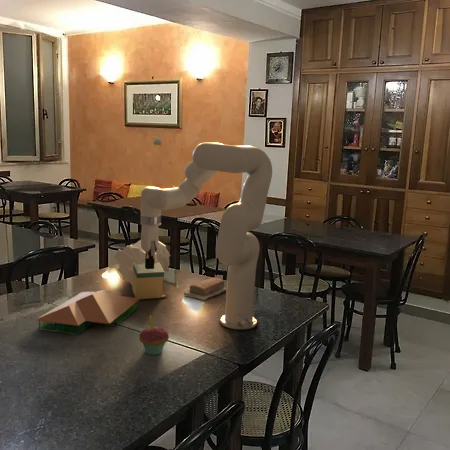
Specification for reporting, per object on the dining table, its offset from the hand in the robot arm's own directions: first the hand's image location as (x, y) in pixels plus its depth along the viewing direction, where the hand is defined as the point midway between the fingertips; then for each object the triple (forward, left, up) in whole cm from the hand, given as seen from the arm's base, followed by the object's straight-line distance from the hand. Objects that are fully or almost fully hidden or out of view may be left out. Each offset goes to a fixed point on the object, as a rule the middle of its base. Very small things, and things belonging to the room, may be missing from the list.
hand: (149, 268), depth 189 cm
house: (-13, +22, -13) cm, 29 cm away
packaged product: (+4, -24, -13) cm, 28 cm away
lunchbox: (-1, 0, -7) cm, 7 cm away
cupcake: (-45, +8, -13) cm, 48 cm away
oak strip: (+2, 0, -13) cm, 13 cm away
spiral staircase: (+27, -4, -13) cm, 30 cm away
